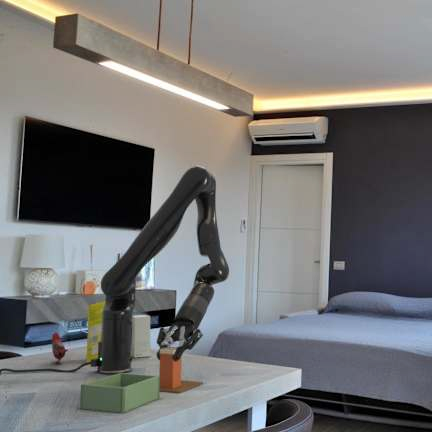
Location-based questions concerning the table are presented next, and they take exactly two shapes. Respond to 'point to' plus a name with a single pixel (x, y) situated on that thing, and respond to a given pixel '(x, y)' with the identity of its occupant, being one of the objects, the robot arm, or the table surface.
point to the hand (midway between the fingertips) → (166, 358)
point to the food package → (94, 330)
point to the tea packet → (169, 369)
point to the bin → (119, 392)
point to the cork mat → (182, 386)
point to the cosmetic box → (141, 336)
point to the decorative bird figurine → (58, 347)
